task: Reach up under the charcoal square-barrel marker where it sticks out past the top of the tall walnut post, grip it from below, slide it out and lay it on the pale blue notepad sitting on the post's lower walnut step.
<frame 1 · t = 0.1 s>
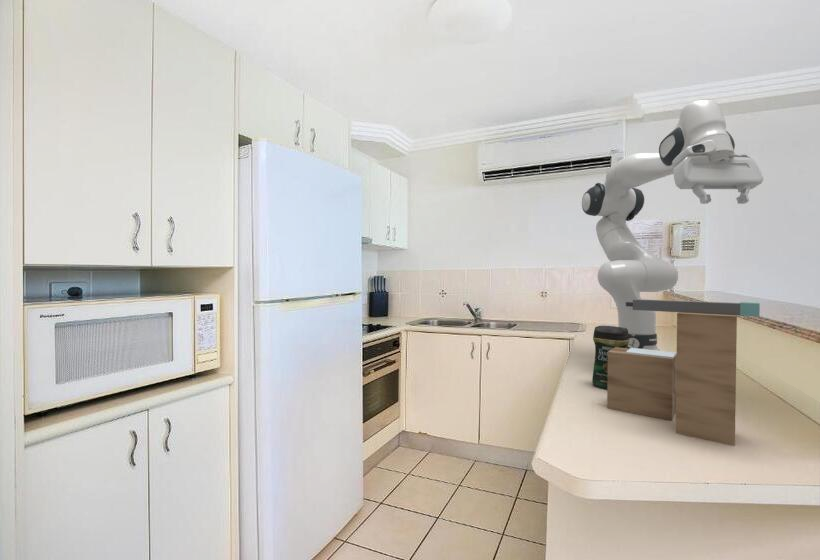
hand: (725, 202, 100), 52 cm above the table, tool tilted 20°, fingers open, 8 cm apart
coffee jar: (610, 387, 122), on the table
walnut stand: (667, 419, 95), on the table
marker: (690, 312, 88), point 26 cm above the table, touching walnut stand
notepad: (650, 353, 100), resting on walnut stand
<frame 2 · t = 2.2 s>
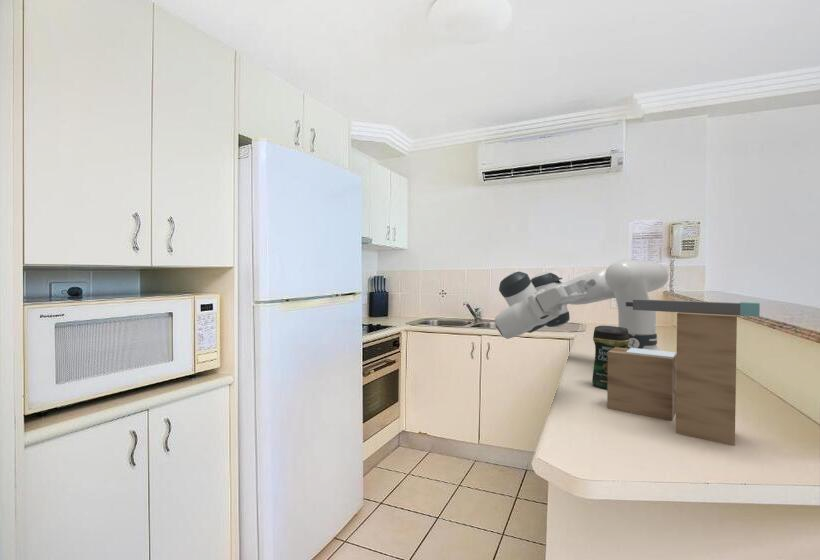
hand: (590, 281, 105), 32 cm above the table, tool pointing upward, fingers open, 8 cm apart
nothing on the table moved.
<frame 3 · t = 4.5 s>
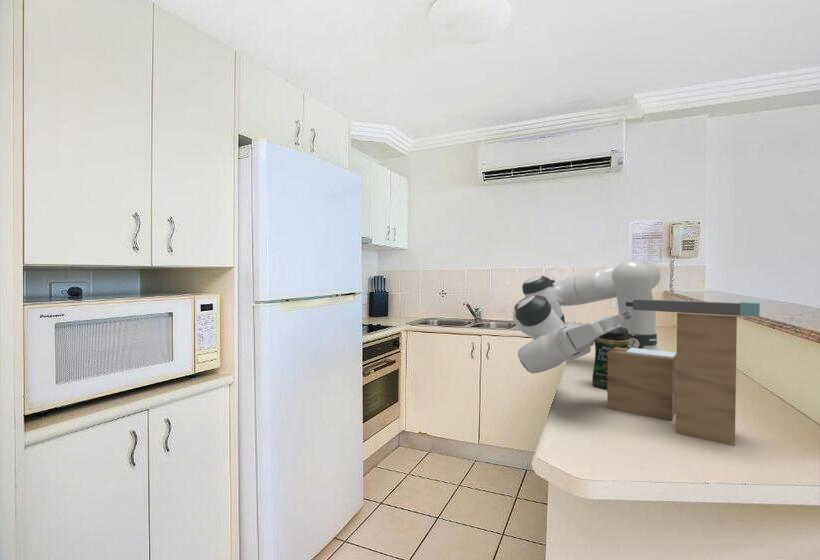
hand: (626, 315, 96), 25 cm above the table, tool pointing upward, fingers open, 8 cm apart
nothing on the table moved.
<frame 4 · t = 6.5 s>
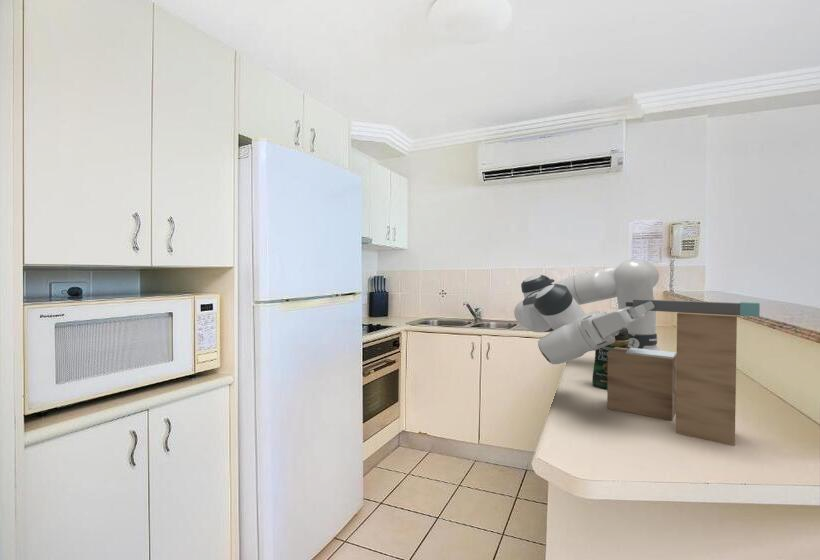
hand: (654, 303, 93), 28 cm above the table, tool pointing upward, fingers closed on marker, 2 cm apart
marker: (690, 312, 88), point 26 cm above the table, touching gripper, walnut stand
everything else where it was.
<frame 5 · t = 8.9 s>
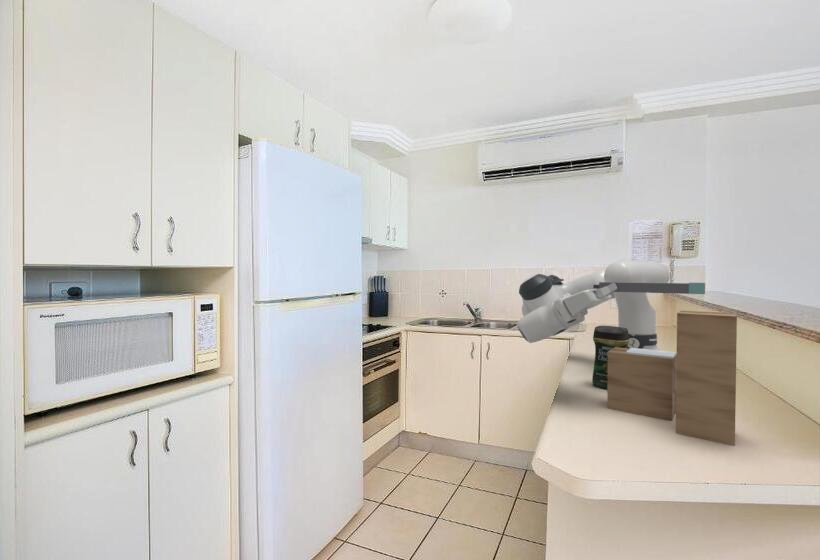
hand: (618, 285, 104), 31 cm above the table, tool pointing upward, fingers closed on marker, 2 cm apart
marker: (647, 292, 100), point 30 cm above the table, touching gripper
everything else where it was.
when the fingers open (19 cm above the table, at t = 11.2 s): marker drops 2 cm, resting on notepad.
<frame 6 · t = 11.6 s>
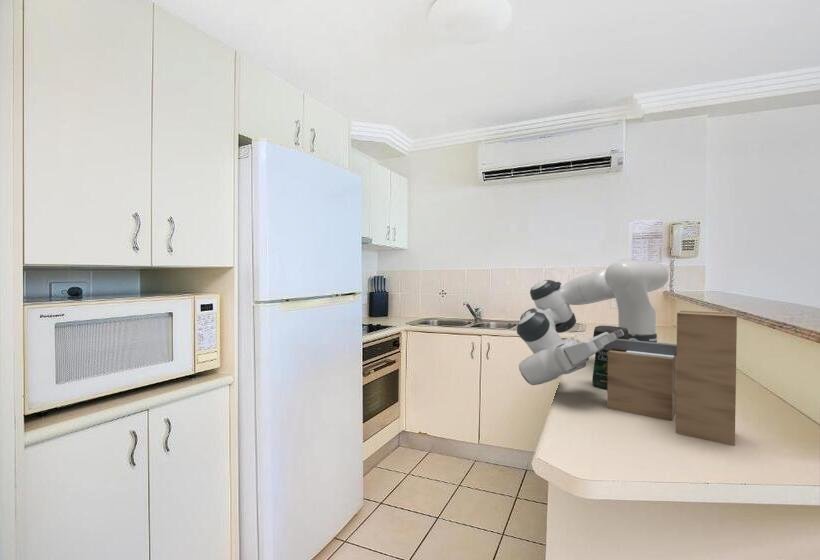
hand: (619, 334, 105), 19 cm above the table, tool pointing upward, fingers open, 6 cm apart
marker: (648, 351, 101), point 15 cm above the table, touching notepad
everything else where it was.
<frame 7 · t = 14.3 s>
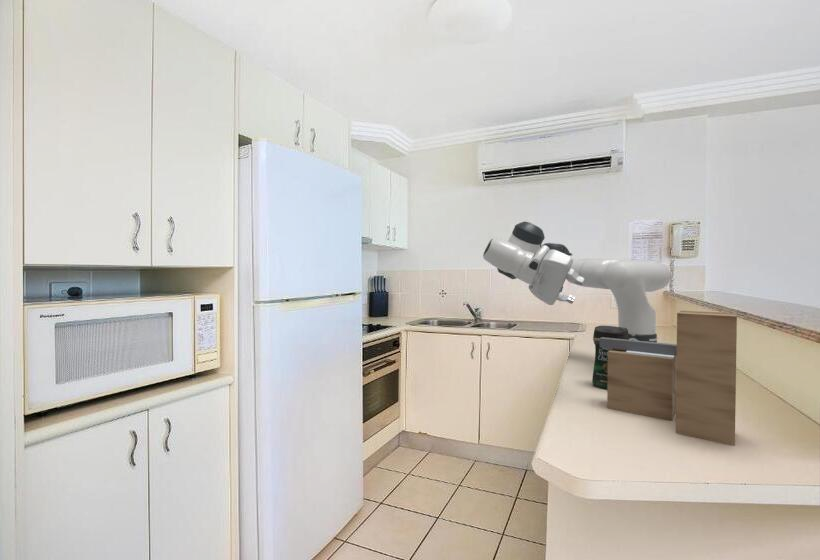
hand: (578, 291, 114), 29 cm above the table, tool tilted 65°, fingers open, 8 cm apart
nothing on the table moved.
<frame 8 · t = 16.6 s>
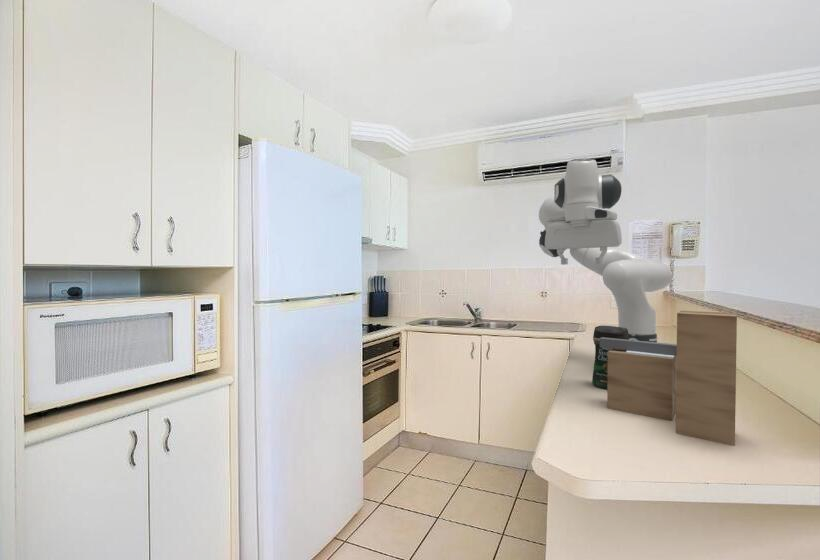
hand: (581, 264, 114), 37 cm above the table, tool pointing down, fingers open, 8 cm apart
nothing on the table moved.
at the end: marker inside the target area on the notepad (0.6 cm from its centre), point 0.4 cm above the notepad's base; marker point 14.9 cm above the table; the gripper is holding nothing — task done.
